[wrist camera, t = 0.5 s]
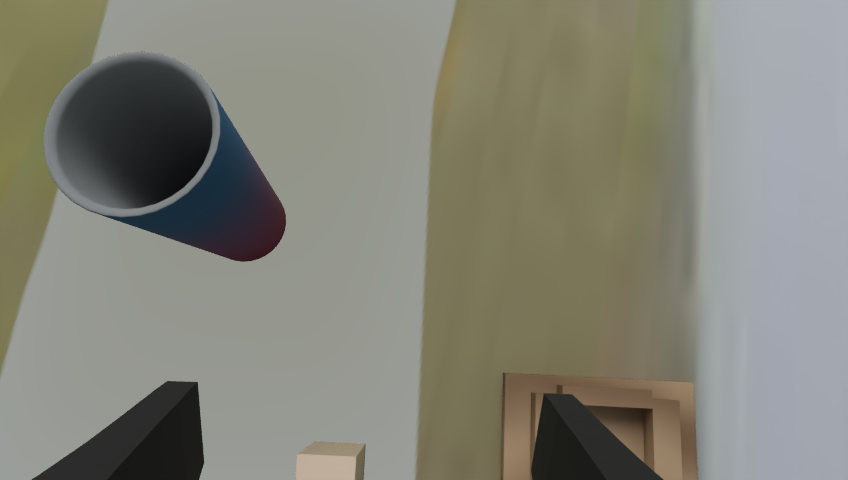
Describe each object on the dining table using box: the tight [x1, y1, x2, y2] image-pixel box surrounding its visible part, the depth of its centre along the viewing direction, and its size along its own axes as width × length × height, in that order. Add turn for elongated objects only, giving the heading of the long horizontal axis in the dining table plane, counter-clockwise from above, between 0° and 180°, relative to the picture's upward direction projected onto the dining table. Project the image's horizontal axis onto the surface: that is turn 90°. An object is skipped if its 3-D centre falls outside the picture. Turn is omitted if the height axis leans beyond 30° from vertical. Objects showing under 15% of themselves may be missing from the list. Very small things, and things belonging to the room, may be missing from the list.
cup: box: [43, 51, 286, 261], centre depth 30 cm, size 7×7×15 cm
